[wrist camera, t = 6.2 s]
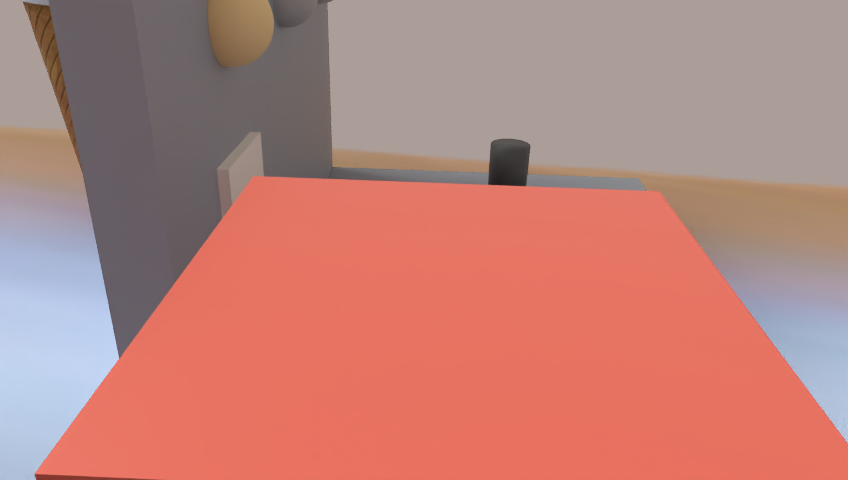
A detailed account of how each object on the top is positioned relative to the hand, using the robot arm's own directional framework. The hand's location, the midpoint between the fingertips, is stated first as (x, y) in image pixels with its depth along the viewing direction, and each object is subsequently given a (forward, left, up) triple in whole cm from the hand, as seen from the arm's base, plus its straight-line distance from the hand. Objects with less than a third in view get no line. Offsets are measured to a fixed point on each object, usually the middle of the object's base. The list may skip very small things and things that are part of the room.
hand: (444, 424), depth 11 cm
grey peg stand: (+1, +14, -6) cm, 15 cm away
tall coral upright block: (0, -2, -6) cm, 6 cm away
